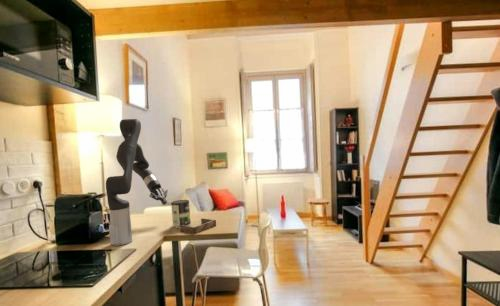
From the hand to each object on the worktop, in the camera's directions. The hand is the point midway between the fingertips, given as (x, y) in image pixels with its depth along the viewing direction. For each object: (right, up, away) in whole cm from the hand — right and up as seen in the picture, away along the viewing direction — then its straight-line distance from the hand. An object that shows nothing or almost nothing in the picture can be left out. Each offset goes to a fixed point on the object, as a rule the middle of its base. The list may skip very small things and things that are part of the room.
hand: (165, 203), depth 172 cm
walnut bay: (+24, -11, -17) cm, 31 cm away
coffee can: (+12, -11, -8) cm, 19 cm away
